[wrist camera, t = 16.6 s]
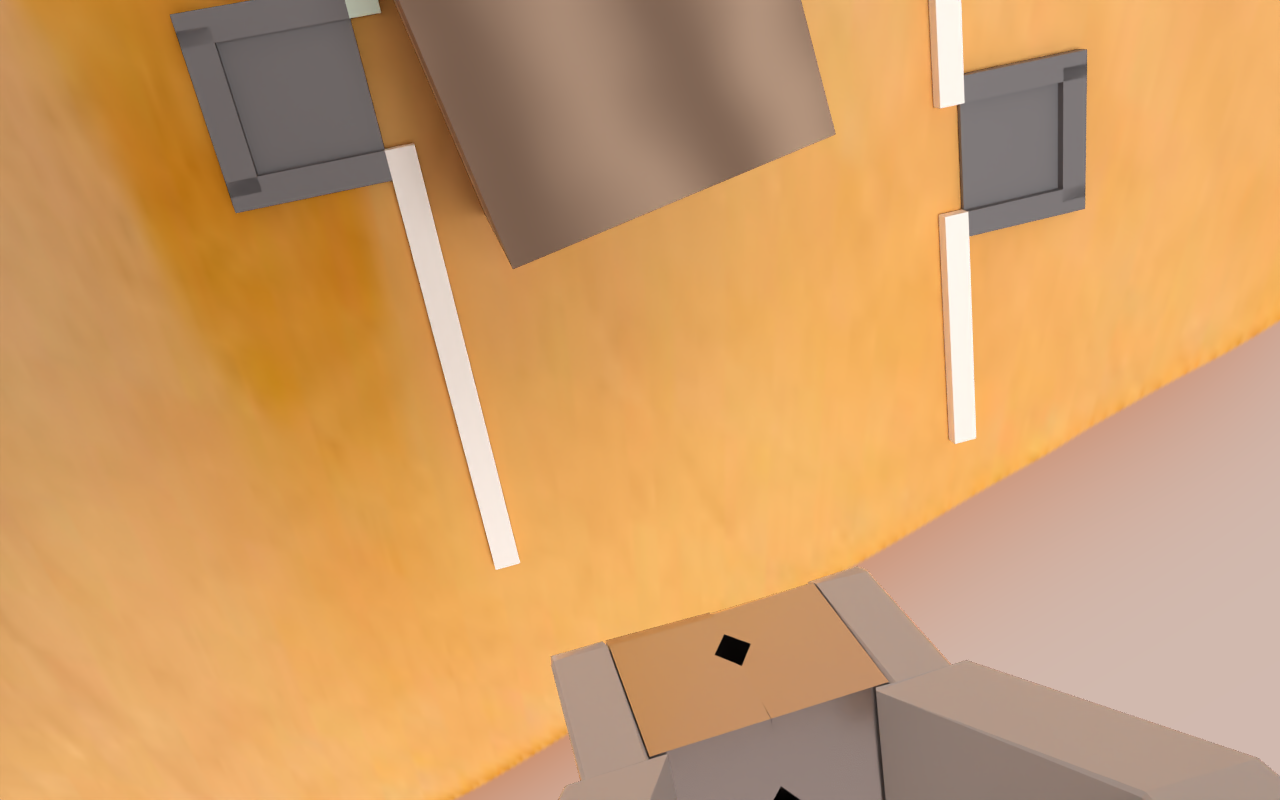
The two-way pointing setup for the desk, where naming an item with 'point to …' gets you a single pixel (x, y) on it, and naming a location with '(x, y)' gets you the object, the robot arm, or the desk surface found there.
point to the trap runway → (355, 157)
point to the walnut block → (613, 103)
